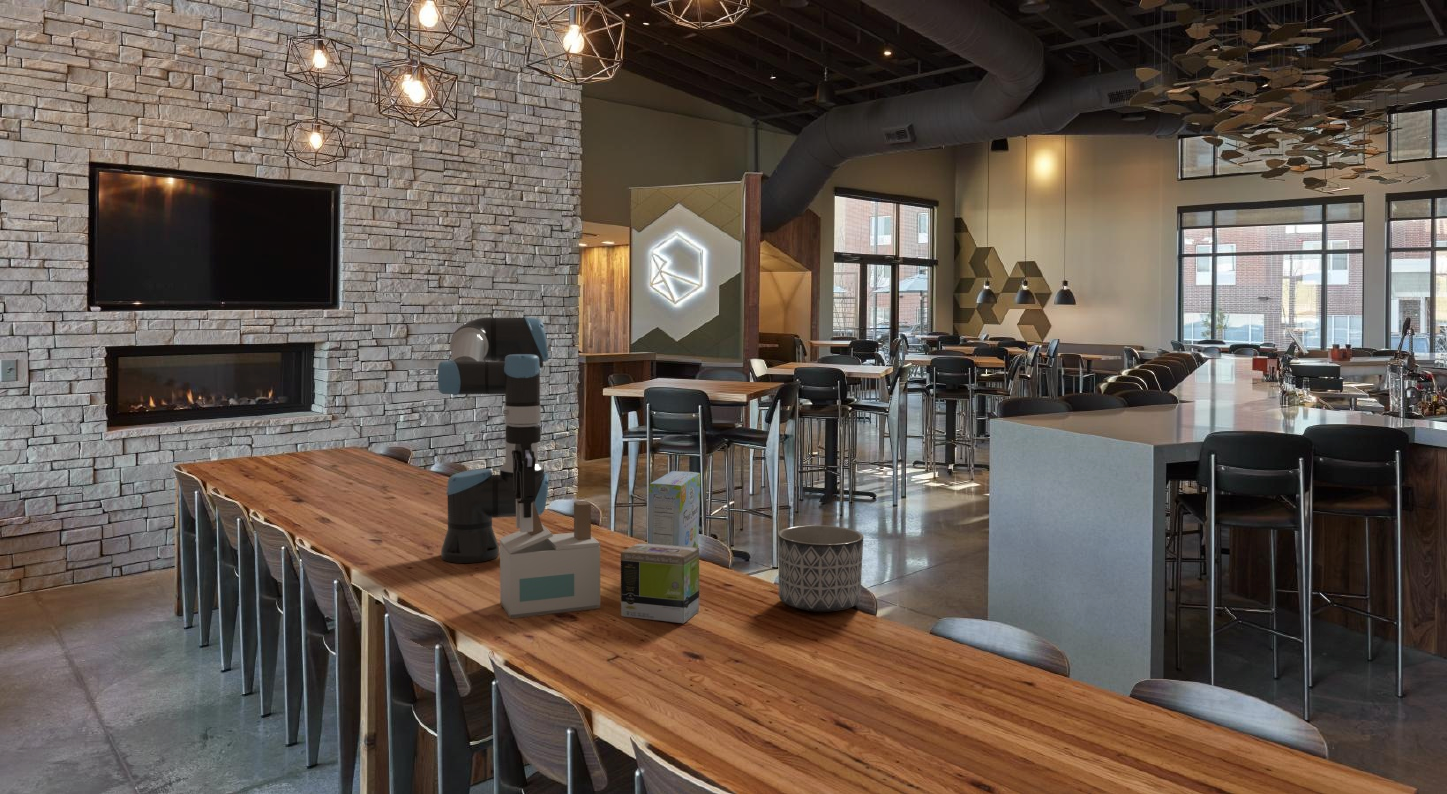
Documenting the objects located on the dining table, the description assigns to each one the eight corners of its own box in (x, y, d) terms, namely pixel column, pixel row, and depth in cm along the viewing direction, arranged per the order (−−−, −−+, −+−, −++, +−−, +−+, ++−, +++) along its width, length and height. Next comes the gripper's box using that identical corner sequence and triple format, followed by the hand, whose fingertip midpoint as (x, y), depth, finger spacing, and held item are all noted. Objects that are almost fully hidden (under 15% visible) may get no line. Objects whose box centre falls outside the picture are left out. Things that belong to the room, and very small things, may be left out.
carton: (500, 602, 213) (499, 503, 211) (586, 593, 221) (586, 497, 219) (510, 618, 202) (509, 513, 200) (600, 608, 210) (600, 507, 208)
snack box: (680, 591, 224) (681, 485, 222) (645, 589, 225) (645, 483, 223) (700, 568, 245) (701, 470, 243) (668, 566, 247) (669, 469, 244)
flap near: (500, 542, 212) (487, 506, 210) (541, 525, 215) (529, 490, 213) (510, 553, 201) (496, 516, 199) (552, 536, 205) (540, 499, 203)
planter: (766, 612, 208) (767, 539, 207) (790, 589, 226) (791, 522, 225) (851, 622, 202) (853, 547, 200) (869, 598, 220) (870, 529, 218)
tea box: (700, 611, 208) (700, 546, 207) (683, 625, 199) (684, 556, 198) (638, 604, 213) (638, 540, 212) (619, 617, 204) (619, 550, 203)
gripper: (498, 421, 212) (500, 523, 214) (513, 429, 197) (515, 539, 199) (531, 420, 215) (533, 520, 217) (548, 428, 200) (550, 536, 202)
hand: (524, 529), depth 208 cm, fingers closed on flap near, 3 cm apart
